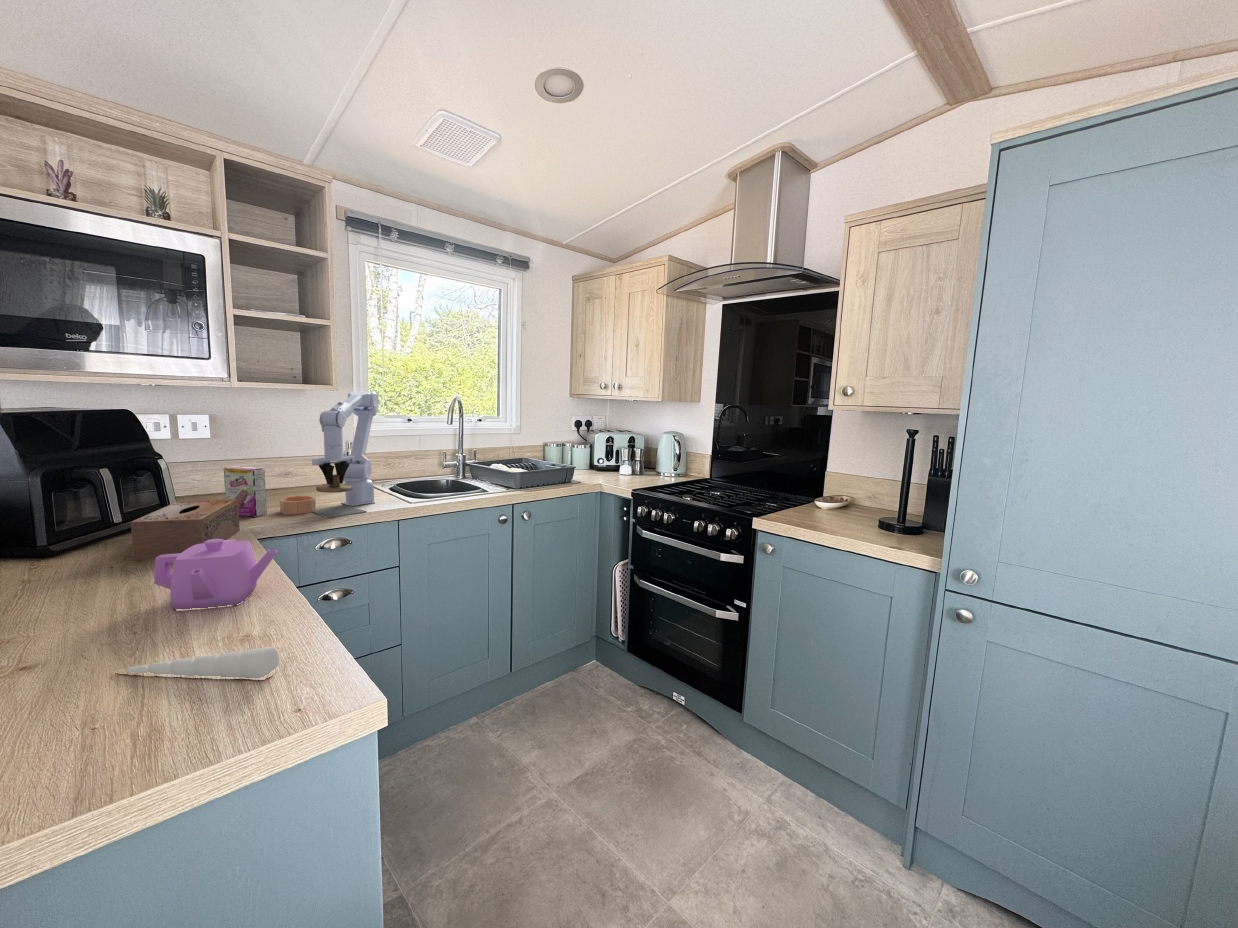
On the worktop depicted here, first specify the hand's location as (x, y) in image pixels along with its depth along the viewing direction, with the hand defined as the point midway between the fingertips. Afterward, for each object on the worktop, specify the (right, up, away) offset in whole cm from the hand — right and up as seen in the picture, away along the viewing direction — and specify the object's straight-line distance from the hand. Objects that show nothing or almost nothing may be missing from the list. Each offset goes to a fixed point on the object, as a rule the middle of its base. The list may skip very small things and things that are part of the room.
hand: (334, 483), depth 183 cm
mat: (0, -10, +2) cm, 10 cm away
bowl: (-14, -10, +2) cm, 17 cm away
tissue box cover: (-18, -16, -39) cm, 46 cm away
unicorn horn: (+36, -26, -104) cm, 113 cm away
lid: (0, -2, 0) cm, 2 cm away
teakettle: (+17, -21, -74) cm, 79 cm away
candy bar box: (-26, -11, -7) cm, 29 cm away
